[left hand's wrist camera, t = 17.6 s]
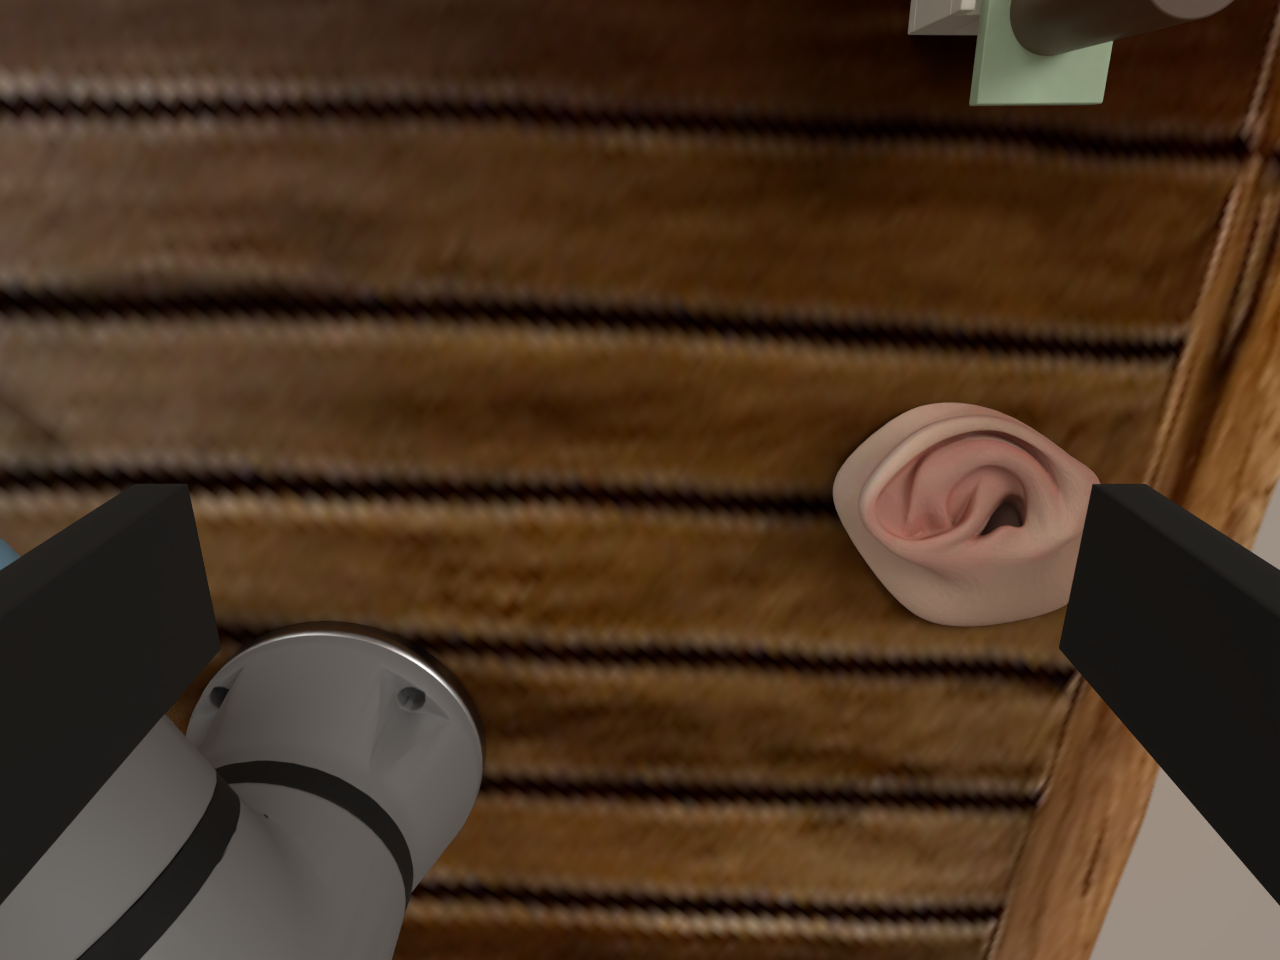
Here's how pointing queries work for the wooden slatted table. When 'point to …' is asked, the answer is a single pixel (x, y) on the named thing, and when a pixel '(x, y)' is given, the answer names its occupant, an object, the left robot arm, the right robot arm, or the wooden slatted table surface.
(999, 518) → the anatomical model
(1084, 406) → the wooden slatted table surface
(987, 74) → the sliding lid
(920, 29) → the pencil box
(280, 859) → the left robot arm
